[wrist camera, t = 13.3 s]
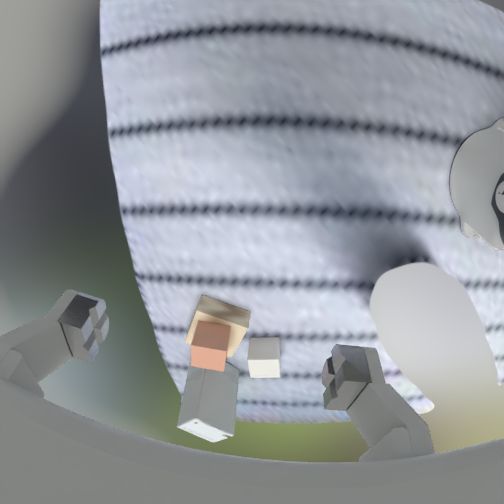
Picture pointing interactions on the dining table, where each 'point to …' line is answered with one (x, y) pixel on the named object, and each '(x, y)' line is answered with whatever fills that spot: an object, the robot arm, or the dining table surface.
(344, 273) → the dining table surface
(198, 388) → the skincare box
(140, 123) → the dining table surface
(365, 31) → the dining table surface
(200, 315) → the beech base
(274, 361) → the offwhite cube
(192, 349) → the terracotta cube
